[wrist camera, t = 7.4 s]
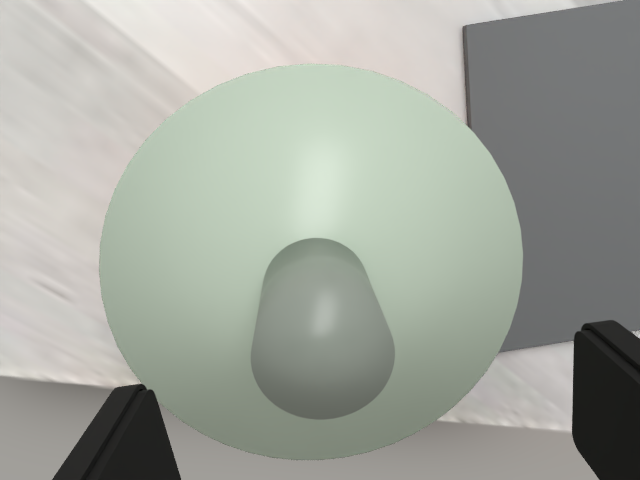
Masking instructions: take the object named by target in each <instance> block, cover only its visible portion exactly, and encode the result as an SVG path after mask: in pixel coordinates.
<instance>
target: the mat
mask: <svg viewBox="0 0 640 480" xmlns="http://www.w3.org/2000/svg"><path fill="white" fill-rule="evenodd" d="M463 39H464V58H465V77H466V96H467V115H468V127H469V128H470V129H471V130H472V131H473V132H474V133H475V135H476V136H477V137H478V139H479V140H480V141H481V142H482V144H483V145H484V146H485V147H486V149H487V150H488V151H489V152H490V154H491V155H492V157H493V159H494V161H495V162H496V164H497V166H498V167H499V169H500V171H501V173H502V174H503V176H504V178H505V180H506V183H507V185H508V188H509V190H510V193H511V195H512V198H513V201H514V203H515V207H516V211H517V216H518V220H519V224H520V228H521V238H522V248H523V267H522V282H521V288H520V293H519V299H518V304H517V308H516V311H515V314H514V317H513V320H512V323H511V326H510V329H509V331H508V333H507V335H506V337H505V340H504V342H503V344H502V346H501V348H500V350H499V352H505V351H511V350H517V349H524V348H530V347H536V346H543V345H549V344H555V343H561V342H568V341H574V335H575V333H576V332H577V331H581V328H582V326H583V325H584V324H585V323H592V322H599V321H606V320H614V321H616V322H618V323H619V324H621V325H622V326H623V327H625V328H626V329H627V330H629V331H636V330H640V0H623V1H617V2H611V3H604V4H598V5H592V6H585V7H579V8H572V9H566V10H560V11H553V12H547V13H540V14H534V15H528V16H521V17H515V18H508V19H502V20H496V21H489V22H483V23H477V24H470V25H466V26H463ZM499 352H498V353H499Z"/></svg>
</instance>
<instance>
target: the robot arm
mask: <svg viewBox="0 0 640 480" xmlns="http://www.w3.org/2000/svg"><path fill="white" fill-rule="evenodd" d="M572 435H573V440H574V443H575V445H576V447H577V449H578V451H579V452H580V454H581V455H582V457H583V458H584V459H585V461H586V462H587V463H588V465H589V466H590V467H591V469H592V470H593V471H594V472H595V474H596V475H597V477H598V478H599V480H640V339H639V338H638V337H636V336H635V335H634V334H633V333H631V332H630V331H629V330H627V329H626V328H625V327H623V326H622V325H621V324H619V323H618V322H616V321H614V320H606V321H599V322H592V323H585V324H584V325H583V326H582V328H581V331H577V332H576V333H575V335H574V366H573V415H572ZM52 480H181V478H180V474H179V471H178V468H177V464H176V461H175V458H174V454H173V451H172V448H171V445H170V441H169V438H168V435H167V431H166V428H165V425H164V422H163V418H162V415H161V412H160V408H159V405H158V402H157V398H156V395H155V393H154V391H153V390H151V389H149V390H147V388H146V387H145V385H143V384H137V385H129V386H122V387H117V388H115V389H114V390H113V391H112V393H111V394H110V396H109V397H108V399H107V400H106V402H105V403H104V404H103V406H102V407H101V409H100V410H99V412H98V413H97V415H96V416H95V418H94V419H93V421H92V422H91V424H90V425H89V426H88V428H87V429H86V431H85V432H84V434H83V435H82V437H81V438H80V440H79V441H78V443H77V444H76V446H75V447H74V449H73V450H72V451H71V453H70V455H69V456H68V458H67V459H66V460H65V462H64V463H63V465H62V466H61V468H60V469H59V470H58V472H57V473H56V475H55V476H54V478H53V479H52Z"/></svg>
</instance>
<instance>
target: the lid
mask: <svg viewBox="0 0 640 480" xmlns="http://www.w3.org/2000/svg"><path fill="white" fill-rule="evenodd" d="M522 267H523V248H522V238H521V228H520V224H519V220H518V216H517V211H516V207H515V203H514V201H513V198H512V195H511V193H510V190H509V188H508V185H507V183H506V180H505V178H504V176H503V174H502V173H501V171H500V169H499V167H498V166H497V164H496V162H495V161H494V159H493V157H492V155H491V154H490V152H489V151H488V150H487V149H486V147H485V146H484V145H483V144H482V142H481V141H480V140H479V139H478V137H477V136H476V135H475V133H474V132H473V131H472V130H471V129H470V128H469V127H468V126H467V125H465V124H464V123H463V122H462V121H461V120H460V119H459V118H458V117H457V116H456V115H455V114H454V113H453V112H452V111H450V110H449V109H447V108H446V107H445V106H443V105H442V104H440V103H439V102H437V101H436V100H435V99H433V98H432V97H430V96H429V95H427V94H425V93H423V92H421V91H420V90H418V89H416V88H414V87H412V86H410V85H408V84H406V83H404V82H402V81H399V80H396V79H394V78H391V77H388V76H385V75H382V74H379V73H376V72H373V71H369V70H364V69H358V68H353V67H348V66H343V65H327V64H300V65H289V66H278V67H274V68H270V69H265V70H261V71H257V72H253V73H248V74H245V75H243V76H240V77H238V78H235V79H232V80H230V81H227V82H225V83H222V84H220V85H217V86H215V87H214V88H212V89H210V90H208V91H207V92H205V93H203V94H201V95H199V96H198V97H196V98H194V99H192V100H191V101H189V102H188V103H187V104H185V105H184V106H183V107H181V108H180V109H179V110H178V111H176V112H175V113H174V114H172V115H171V116H170V117H168V118H167V119H166V120H165V121H164V122H163V123H162V124H161V125H160V126H159V127H158V128H157V129H156V130H155V131H154V132H153V133H152V134H151V135H150V136H149V137H148V138H147V139H146V140H145V142H144V143H143V144H142V146H141V147H140V149H139V150H138V151H137V153H136V154H135V156H134V157H133V158H132V160H131V161H130V162H129V164H128V165H127V167H126V169H125V171H124V173H123V175H122V177H121V179H120V181H119V183H118V185H117V186H116V188H115V190H114V193H113V196H112V199H111V202H110V205H109V208H108V211H107V213H106V216H105V221H104V226H103V232H102V237H101V242H100V260H99V275H100V285H101V295H102V300H103V304H104V308H105V312H106V316H107V320H108V323H109V326H110V328H111V331H112V333H113V336H114V338H115V341H116V343H117V346H118V348H119V349H120V351H121V353H122V355H123V356H124V358H125V360H126V362H127V363H128V365H129V367H130V369H131V370H132V371H133V373H134V374H135V375H136V376H137V378H138V379H139V380H140V382H141V383H142V384H143V385H145V387H146V388H147V390H149V389H151V390H153V391H154V393H155V395H156V398H157V401H158V402H160V404H161V405H162V406H164V407H165V408H166V409H167V410H169V411H170V412H171V413H172V414H174V415H175V416H176V417H177V418H179V419H180V420H181V421H183V422H184V423H186V424H187V425H189V426H191V427H192V428H194V429H195V430H197V431H199V432H200V433H202V434H204V435H206V436H208V437H210V438H212V439H214V440H217V441H219V442H221V443H223V444H225V445H228V446H231V447H234V448H237V449H240V450H243V451H246V452H249V453H254V454H258V455H263V456H268V457H272V458H282V459H291V460H324V459H334V458H342V457H348V456H353V455H357V454H362V453H367V452H370V451H373V450H376V449H379V448H382V447H385V446H388V445H391V444H393V443H395V442H398V441H400V440H402V439H404V438H406V437H408V436H411V435H413V434H415V433H416V432H418V431H420V430H421V429H423V428H424V427H426V426H428V425H430V424H431V423H433V422H434V421H436V420H437V419H438V418H440V417H441V416H442V415H444V414H445V413H446V412H447V411H449V410H450V409H451V408H453V407H454V406H455V405H456V404H457V403H458V402H459V401H460V400H461V399H462V398H463V397H464V396H465V395H466V394H467V393H468V392H469V391H470V390H471V389H472V388H473V387H474V386H475V384H476V383H477V382H478V381H479V379H480V378H481V377H482V376H483V375H484V373H485V372H486V371H487V369H488V368H489V366H490V364H491V363H492V361H493V360H494V358H495V357H496V355H497V353H498V352H499V350H500V348H501V346H502V344H503V342H504V340H505V337H506V335H507V333H508V331H509V329H510V326H511V323H512V320H513V317H514V314H515V311H516V308H517V304H518V299H519V293H520V288H521V282H522Z"/></svg>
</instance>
